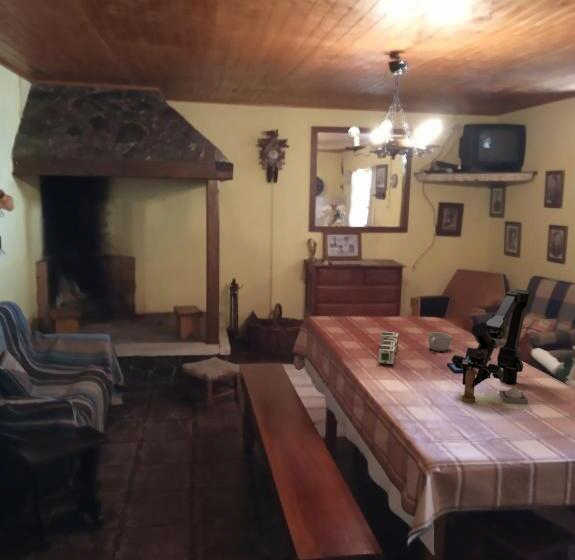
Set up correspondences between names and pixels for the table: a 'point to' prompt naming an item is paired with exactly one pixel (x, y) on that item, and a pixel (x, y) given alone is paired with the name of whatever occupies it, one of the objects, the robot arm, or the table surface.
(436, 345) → the grey rounded block
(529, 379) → the table surface
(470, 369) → the handheld game console
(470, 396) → the pawn
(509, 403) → the board
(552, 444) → the table surface
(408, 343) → the table surface
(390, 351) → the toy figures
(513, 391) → the dome
